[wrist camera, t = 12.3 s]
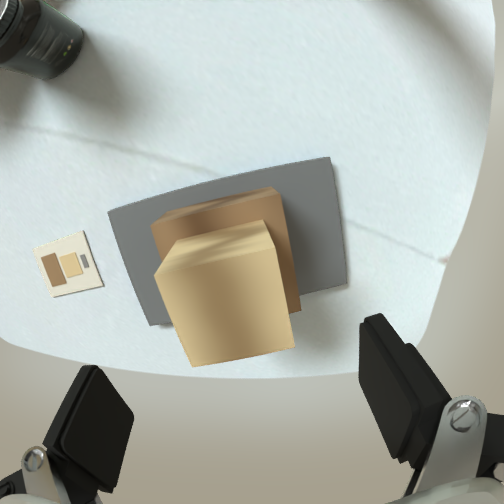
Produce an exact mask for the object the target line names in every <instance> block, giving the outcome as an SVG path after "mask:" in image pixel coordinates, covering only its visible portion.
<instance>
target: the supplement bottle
mask: <svg viewBox="0 0 504 504" xmlns="http://www.w3.org/2000/svg"><path fill="white" fill-rule="evenodd" d="M82 43H83V32H82V30H81V28H80V27H79V26H78V25H77V24H76V23H75V22H73V21H72V20H71V19H69V18H68V17H66V16H65V15H64V14H62V13H61V12H59V11H58V10H56V9H55V8H53V7H52V6H50V5H49V4H47V3H46V2H44V1H43V0H0V68H2V69H7V70H10V71H14V72H18V73H22V74H25V75H29V76H32V77H36V78H40V79H51V78H54V77H56V76H58V75H60V74H61V73H63V72H64V71H65V70H66V69H67V68H69V66H70V65H71V64H72V63H73V62H74V60H75V59H76V57H77V56H78V54H79V52H80V50H81V47H82Z"/></svg>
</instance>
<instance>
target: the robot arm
mask: <svg viewBox="0 0 504 504" xmlns="http://www.w3.org/2000/svg"><path fill="white" fill-rule="evenodd" d="M359 383H360V386H361V388H362V390H363V393H364V395H365V397H366V399H367V401H368V404H369V406H370V408H371V410H372V413H373V415H374V417H375V420H376V422H377V424H378V427H379V429H380V431H381V433H382V436H383V438H384V440H385V443H386V445H387V448H388V450H389V453H390V455H391V457H392V458H393V459H395V458H398V461H399V463H400V464H401V463H403V462H405V461H409V464H410V466H411V468H413V472H412V474H411V476H410V479H409V481H408V483H407V486H406V488H405V490H404V492H403V495H402V496H401V499H398V500H395V501H393V502H390V503H386V504H504V486H503V485H502V484H501V482H504V415H498V414H491V413H487V410H486V408H485V405H484V404H483V403H482V402H481V401H480V400H479V399H477V398H476V397H473V396H469V395H465V396H459V397H456V398H454V399H452V398H451V397H450V395H449V394H448V392H447V391H446V390H445V388H444V387H443V385H442V384H441V382H440V381H439V379H438V378H437V377H436V375H435V374H434V373H433V371H432V370H431V368H430V367H429V366H428V364H427V363H426V361H425V360H424V359H423V357H422V356H421V355H420V353H419V352H418V351H417V349H416V348H415V347H414V346H413V345H412V344H411V343H407V344H405V343H404V342H403V341H402V339H401V338H400V337H399V335H398V334H397V333H396V331H395V330H394V329H393V327H392V326H391V325H390V323H389V322H388V321H387V319H386V318H385V317H384V315H383V314H382V313H378V314H375V315H372V316H369V317H366V318H365V319H364V323H361V324H360V327H359ZM133 422H134V415H133V412H132V411H131V409H130V408H129V407H128V405H127V404H126V403H125V401H124V400H123V399H122V397H121V396H120V395H119V393H118V392H117V391H116V389H115V388H114V386H113V385H112V383H111V382H110V381H109V379H108V378H107V376H106V375H105V373H104V372H103V371H102V369H100V368H99V367H98V366H96V365H85V366H82V367H81V369H80V371H79V373H78V374H77V376H76V378H75V379H74V381H73V383H72V385H71V387H70V389H69V391H68V392H67V394H66V396H65V398H64V400H63V402H62V404H61V406H60V408H59V410H58V412H57V414H56V416H55V418H54V420H53V422H52V424H51V426H50V428H49V430H48V432H47V434H46V437H45V439H44V441H43V443H42V444H43V445H44V446H45V447H46V448H47V451H45V450H44V449H43V448H42V447H40V446H34V447H31V448H29V449H28V450H27V451H26V452H25V453H24V455H23V457H22V461H21V467H22V469H20V470H19V471H17V472H15V473H13V474H11V475H9V476H7V477H6V478H4V479H2V480H1V481H0V504H103V503H102V501H101V500H100V497H99V495H98V493H97V490H98V489H99V490H100V491H102V492H107V493H112V492H113V489H114V487H116V485H117V482H118V478H119V474H120V470H121V466H122V462H123V458H124V454H125V450H126V447H127V443H128V439H129V436H130V432H131V429H132V425H133Z"/></svg>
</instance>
